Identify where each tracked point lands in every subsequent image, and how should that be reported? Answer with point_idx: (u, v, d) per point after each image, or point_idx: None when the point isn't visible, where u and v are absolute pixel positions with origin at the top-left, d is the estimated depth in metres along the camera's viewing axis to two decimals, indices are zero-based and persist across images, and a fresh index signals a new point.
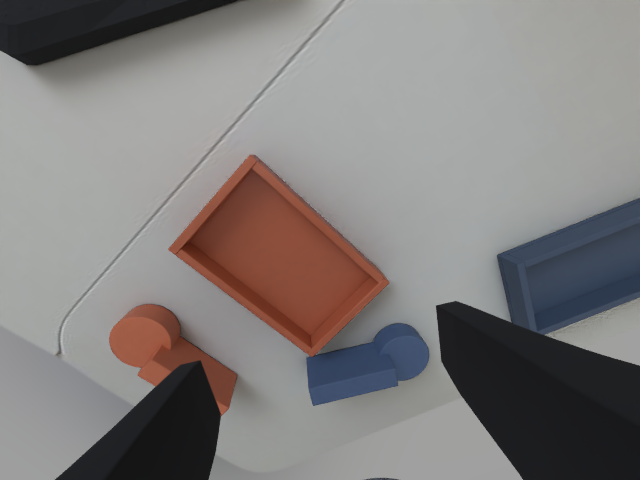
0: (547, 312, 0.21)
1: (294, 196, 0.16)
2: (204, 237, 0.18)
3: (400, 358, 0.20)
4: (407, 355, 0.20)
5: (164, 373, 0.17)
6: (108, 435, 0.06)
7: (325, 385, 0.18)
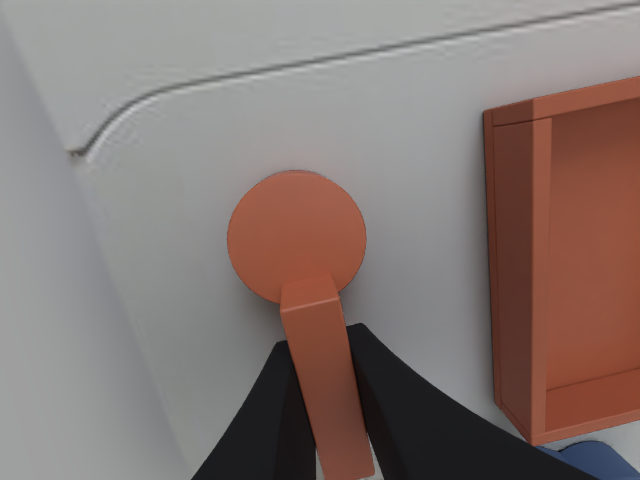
0: None
1: None
2: None
3: None
4: None
5: (336, 342, 0.07)
6: (249, 402, 0.06)
7: None
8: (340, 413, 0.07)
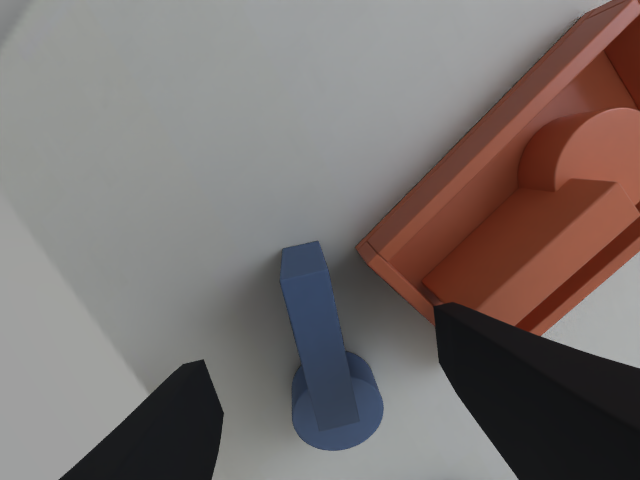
0: None
1: None
2: (591, 63, 0.10)
3: None
4: None
5: (606, 237, 0.08)
6: (113, 434, 0.06)
7: (332, 304, 0.09)
8: (543, 281, 0.09)
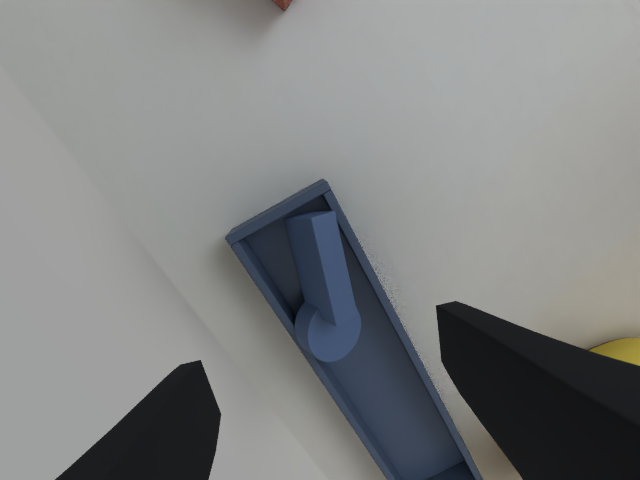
0: (259, 261, 0.17)
1: None
2: None
3: None
4: (340, 332, 0.16)
5: None
6: (108, 436, 0.06)
7: (338, 233, 0.14)
8: None
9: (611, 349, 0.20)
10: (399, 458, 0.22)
